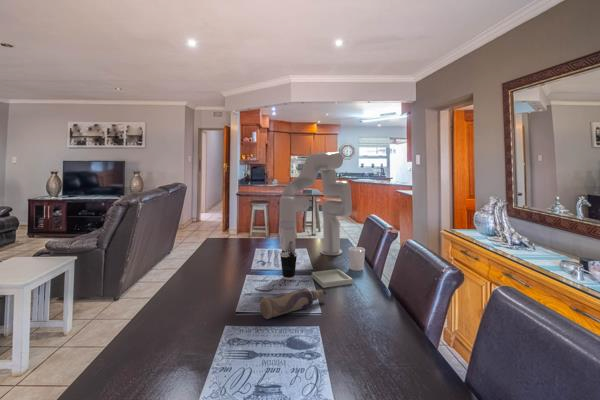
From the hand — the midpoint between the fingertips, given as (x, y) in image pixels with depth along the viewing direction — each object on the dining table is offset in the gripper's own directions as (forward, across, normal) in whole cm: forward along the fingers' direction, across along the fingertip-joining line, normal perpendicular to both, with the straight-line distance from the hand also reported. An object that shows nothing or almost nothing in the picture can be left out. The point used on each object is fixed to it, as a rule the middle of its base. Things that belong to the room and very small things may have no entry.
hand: (288, 262), depth 132 cm
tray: (+7, +9, +18) cm, 21 cm away
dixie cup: (+7, 0, 0) cm, 8 cm away
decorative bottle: (+8, +30, -6) cm, 32 cm away
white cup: (+7, -1, +36) cm, 36 cm away
